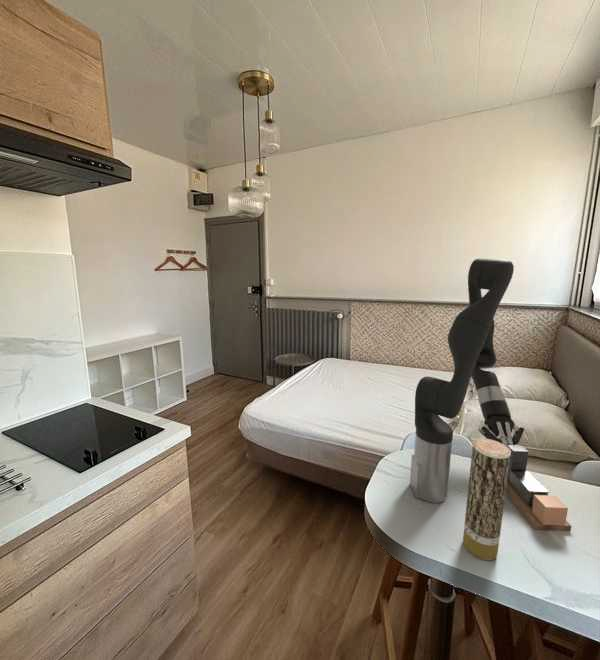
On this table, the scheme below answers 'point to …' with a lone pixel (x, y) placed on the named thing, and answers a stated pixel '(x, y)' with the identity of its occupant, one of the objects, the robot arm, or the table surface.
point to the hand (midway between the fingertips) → (510, 460)
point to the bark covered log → (486, 497)
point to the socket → (549, 510)
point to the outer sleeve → (525, 485)
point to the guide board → (529, 515)
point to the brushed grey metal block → (519, 463)
